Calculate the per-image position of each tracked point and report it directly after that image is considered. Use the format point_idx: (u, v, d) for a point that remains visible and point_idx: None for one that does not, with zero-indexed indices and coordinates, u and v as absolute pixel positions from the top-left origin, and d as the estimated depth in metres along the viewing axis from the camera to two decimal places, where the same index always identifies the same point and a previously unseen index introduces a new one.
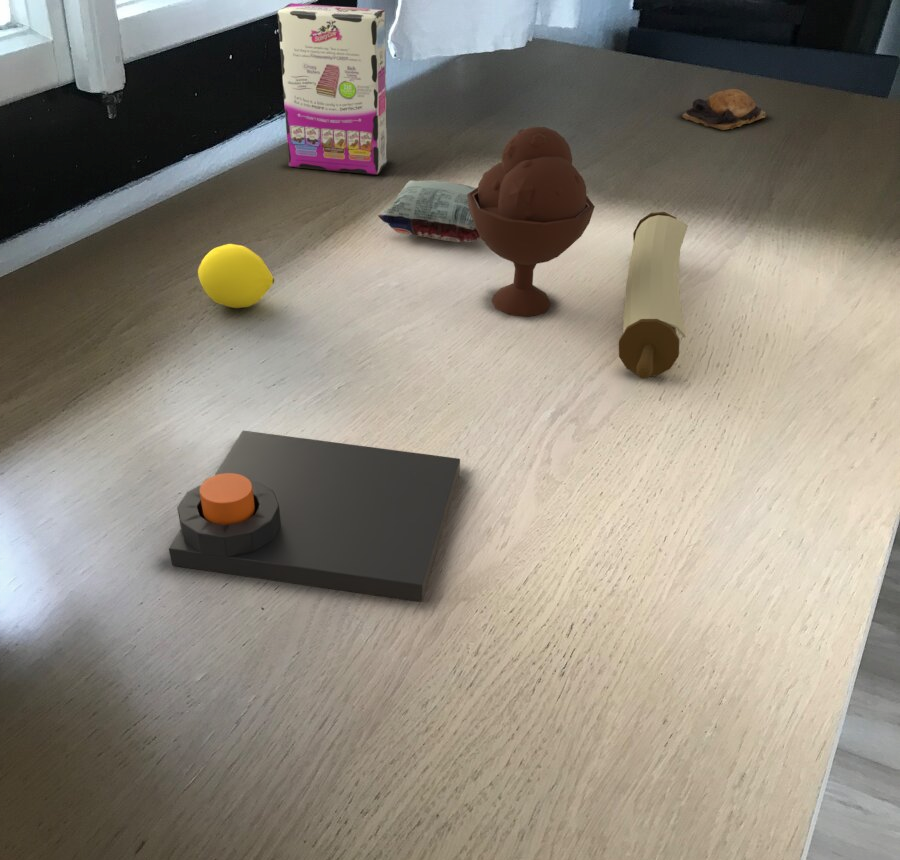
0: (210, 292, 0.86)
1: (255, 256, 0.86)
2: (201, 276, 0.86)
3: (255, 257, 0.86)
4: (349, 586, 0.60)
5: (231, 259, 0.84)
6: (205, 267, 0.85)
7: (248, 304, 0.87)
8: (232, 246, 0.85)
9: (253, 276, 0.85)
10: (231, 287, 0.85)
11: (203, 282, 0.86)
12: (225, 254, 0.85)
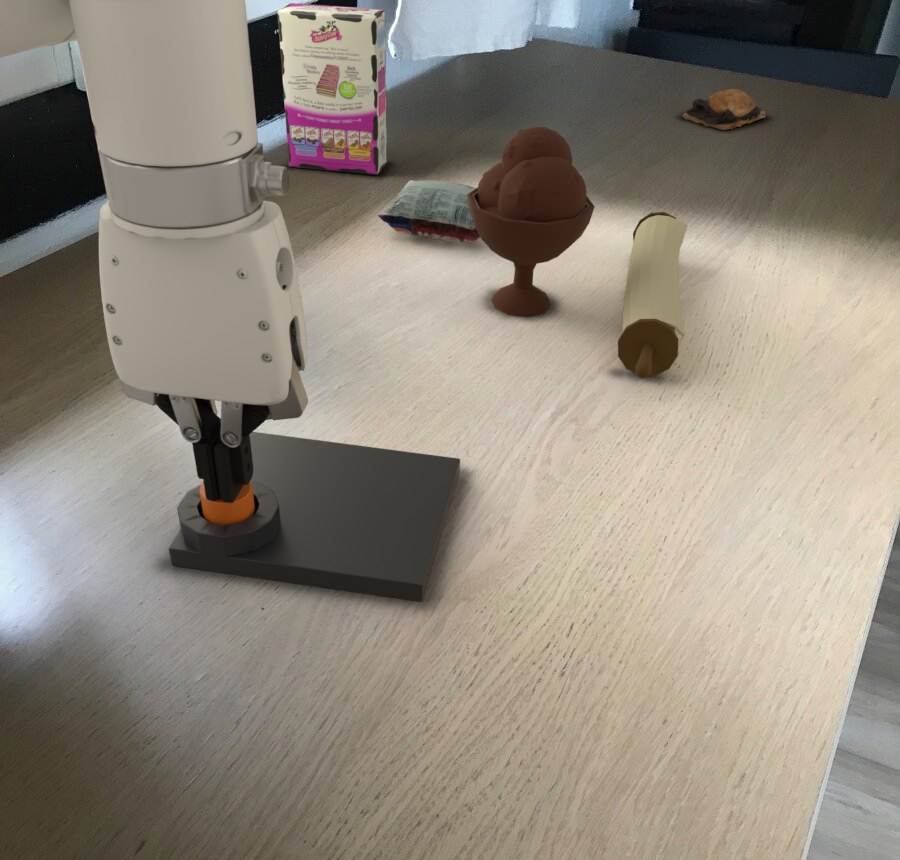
0: None
1: None
2: None
3: None
4: (349, 586, 0.60)
5: None
6: None
7: None
8: None
9: None
10: None
11: None
12: None
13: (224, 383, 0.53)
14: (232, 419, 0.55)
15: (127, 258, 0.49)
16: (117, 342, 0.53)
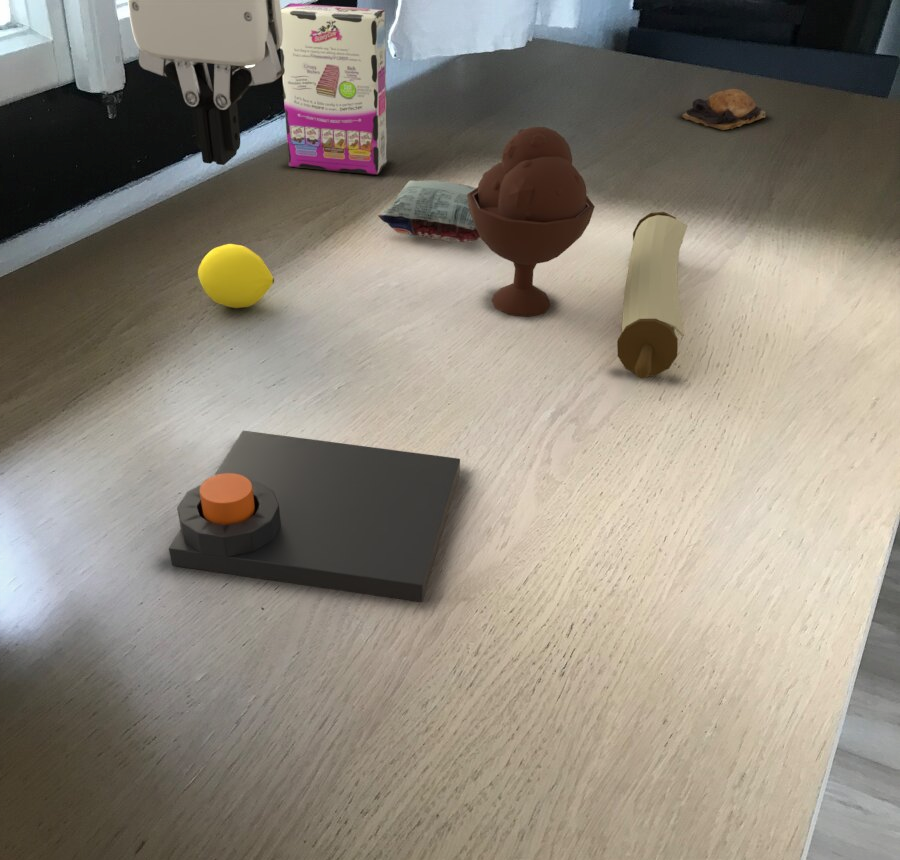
0: (210, 292, 0.86)
1: (255, 256, 0.86)
2: (201, 276, 0.86)
3: (255, 257, 0.86)
4: (349, 586, 0.60)
5: (231, 259, 0.84)
6: (205, 267, 0.85)
7: (248, 304, 0.87)
8: (232, 246, 0.85)
9: (253, 276, 0.85)
10: (231, 287, 0.85)
11: (203, 282, 0.86)
12: (225, 254, 0.85)
13: (216, 42, 0.69)
14: (222, 82, 0.72)
15: None
16: (135, 8, 0.69)
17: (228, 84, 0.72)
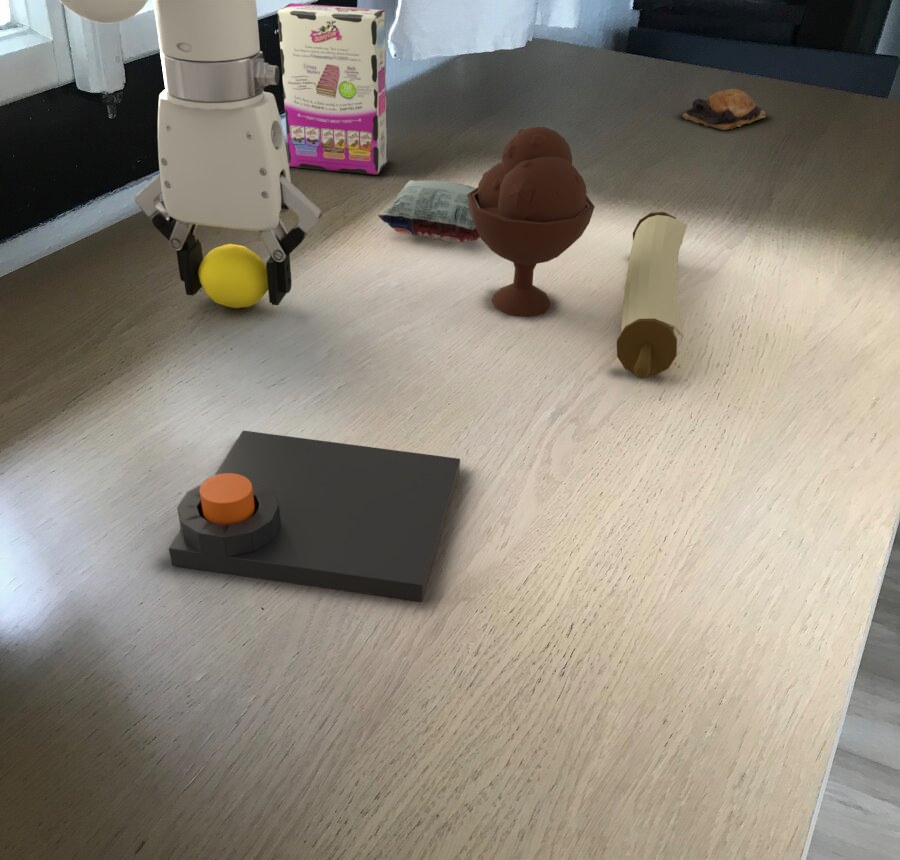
0: (210, 292, 0.86)
1: (255, 256, 0.86)
2: (201, 276, 0.86)
3: (255, 257, 0.86)
4: (349, 586, 0.60)
5: (231, 259, 0.84)
6: (205, 267, 0.85)
7: (248, 304, 0.87)
8: (232, 246, 0.85)
9: (253, 276, 0.85)
10: (231, 287, 0.85)
11: (203, 282, 0.86)
12: (225, 254, 0.85)
13: (237, 214, 0.81)
14: (270, 240, 0.83)
15: (176, 125, 0.77)
16: (167, 186, 0.81)
17: (275, 239, 0.83)
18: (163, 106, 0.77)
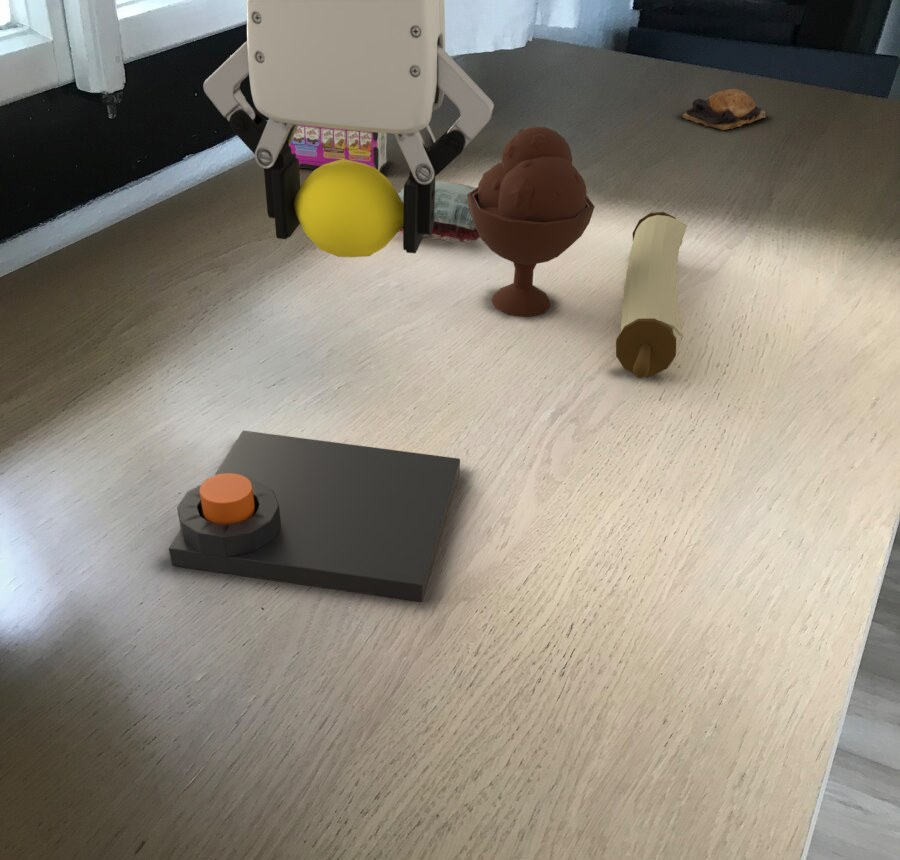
0: (315, 232, 0.57)
1: (383, 177, 0.57)
2: (301, 208, 0.57)
3: (383, 179, 0.56)
4: (349, 586, 0.60)
5: (349, 180, 0.55)
6: (308, 193, 0.56)
7: (370, 252, 0.58)
8: (349, 162, 0.56)
9: (382, 207, 0.56)
10: (348, 224, 0.56)
11: (304, 217, 0.57)
12: (340, 173, 0.55)
13: (367, 104, 0.52)
14: (413, 149, 0.54)
15: None
16: (259, 59, 0.51)
17: (421, 147, 0.54)
18: None
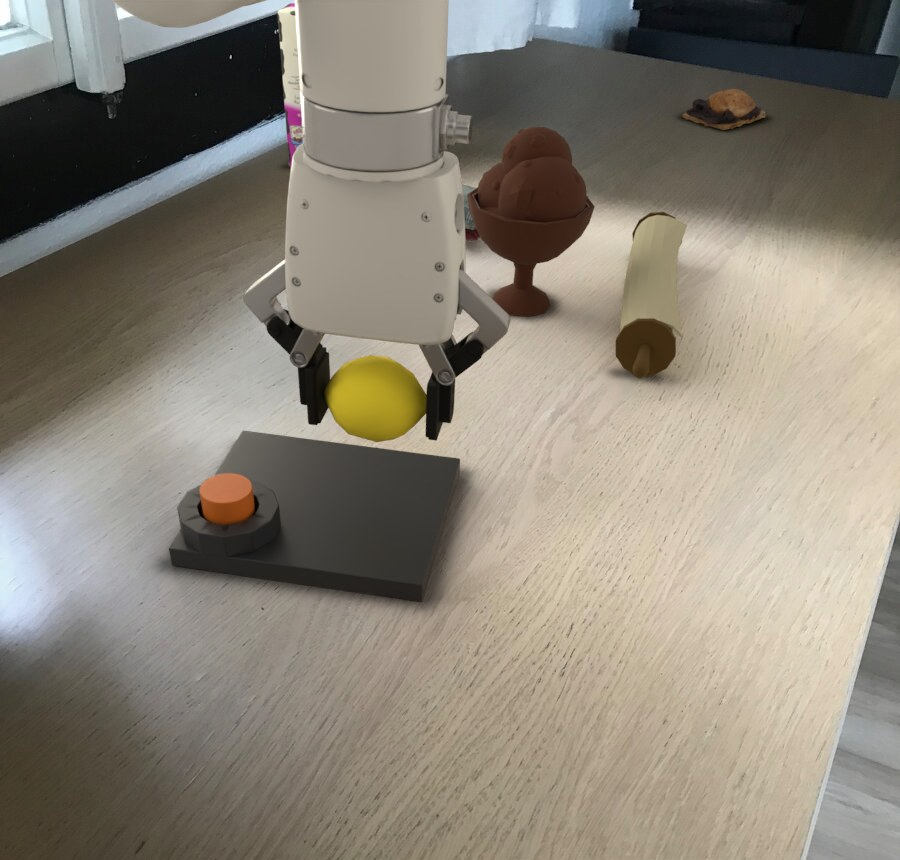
0: (344, 423, 0.62)
1: (407, 373, 0.61)
2: (331, 401, 0.62)
3: (408, 375, 0.61)
4: (349, 586, 0.60)
5: (377, 380, 0.60)
6: (339, 389, 0.61)
7: (394, 437, 0.63)
8: (376, 360, 0.61)
9: (406, 402, 0.61)
10: (376, 418, 0.61)
11: (335, 409, 0.61)
12: (368, 372, 0.60)
13: (394, 323, 0.57)
14: (436, 357, 0.58)
15: (318, 202, 0.53)
16: (295, 283, 0.56)
17: (443, 355, 0.58)
18: (299, 174, 0.52)
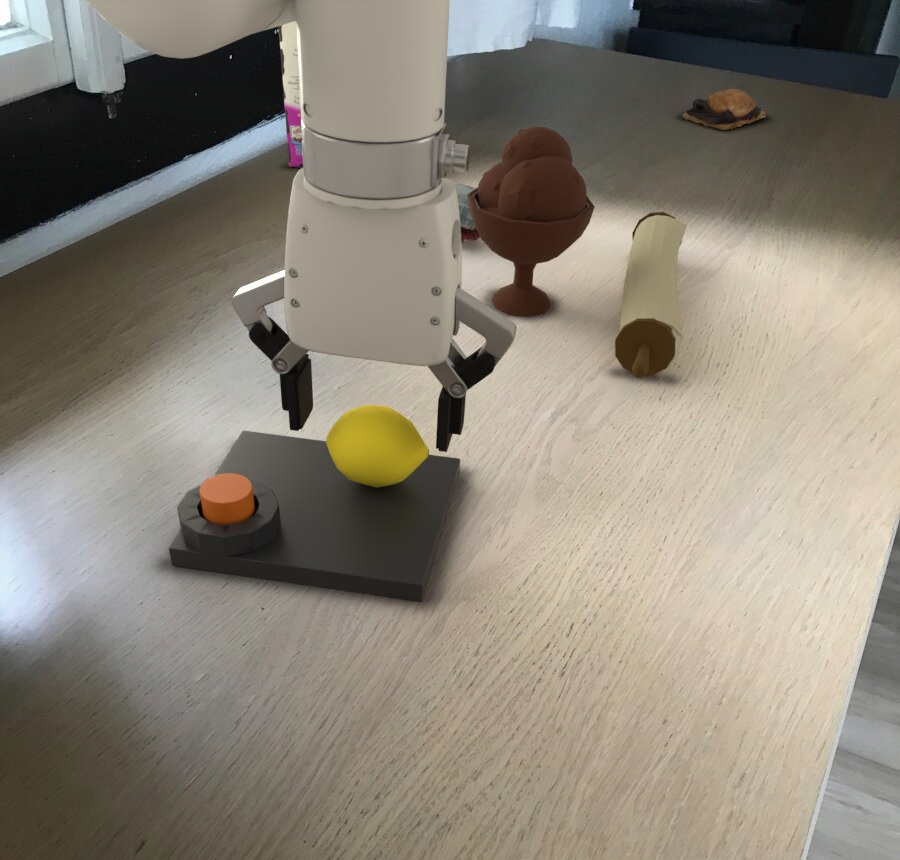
0: (345, 470, 0.64)
1: (406, 422, 0.64)
2: (333, 449, 0.64)
3: (407, 424, 0.64)
4: (349, 586, 0.60)
5: (377, 430, 0.62)
6: (340, 438, 0.63)
7: (393, 483, 0.65)
8: (376, 410, 0.63)
9: (405, 451, 0.63)
10: (375, 466, 0.63)
11: (336, 457, 0.64)
12: (368, 422, 0.63)
13: (391, 344, 0.58)
14: (444, 371, 0.59)
15: (317, 226, 0.53)
16: (294, 305, 0.57)
17: (450, 369, 0.59)
18: (299, 199, 0.53)
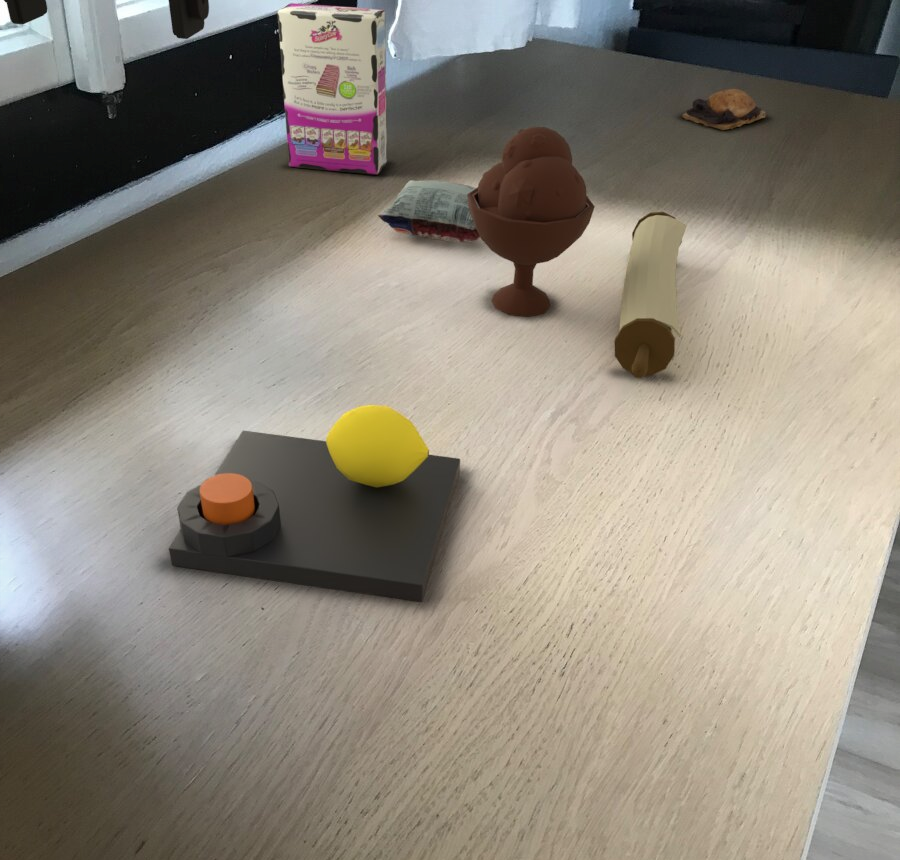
0: (345, 470, 0.64)
1: (406, 422, 0.64)
2: (333, 449, 0.64)
3: (406, 424, 0.64)
4: (349, 586, 0.60)
5: (377, 430, 0.62)
6: (340, 438, 0.63)
7: (393, 483, 0.65)
8: (376, 410, 0.63)
9: (405, 451, 0.63)
10: (375, 466, 0.63)
11: (336, 457, 0.64)
12: (368, 422, 0.63)
13: None
14: None
15: None
16: None
17: None
18: None
